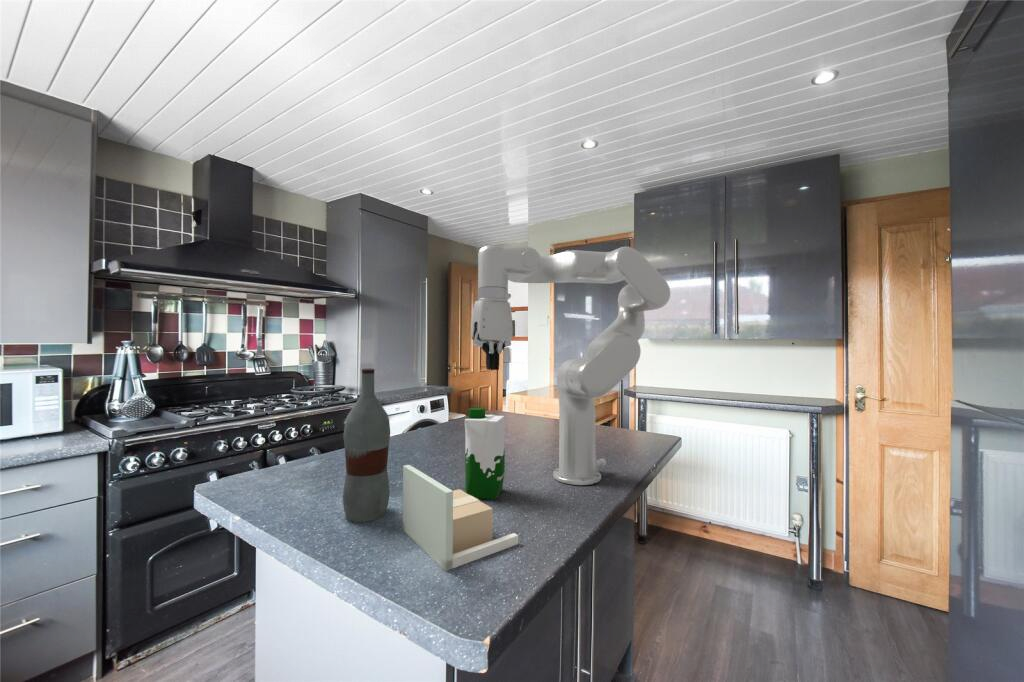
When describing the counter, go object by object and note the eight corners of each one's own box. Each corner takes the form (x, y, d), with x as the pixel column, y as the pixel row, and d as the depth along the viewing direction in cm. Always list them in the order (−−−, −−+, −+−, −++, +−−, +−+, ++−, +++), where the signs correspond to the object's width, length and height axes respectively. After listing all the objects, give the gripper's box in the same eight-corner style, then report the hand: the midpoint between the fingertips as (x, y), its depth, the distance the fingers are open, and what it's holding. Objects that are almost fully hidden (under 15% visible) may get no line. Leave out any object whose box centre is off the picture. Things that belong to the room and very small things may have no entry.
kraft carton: (459, 519, 80) (459, 488, 80) (492, 542, 70) (492, 508, 71) (412, 532, 74) (412, 499, 74) (441, 560, 64) (442, 522, 65)
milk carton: (472, 485, 98) (472, 405, 99) (507, 488, 97) (507, 406, 97) (460, 498, 90) (461, 410, 90) (499, 502, 88) (499, 412, 88)
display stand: (467, 511, 83) (467, 453, 83) (518, 544, 69) (518, 475, 69) (402, 529, 75) (403, 465, 75) (445, 571, 61) (446, 492, 61)
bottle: (337, 511, 82) (339, 368, 83) (380, 501, 88) (382, 367, 89) (349, 527, 75) (351, 370, 76) (396, 515, 81) (398, 369, 81)
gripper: (507, 300, 106) (507, 368, 106) (459, 295, 97) (458, 369, 97) (525, 297, 100) (525, 369, 100) (475, 292, 91) (475, 371, 91)
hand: (492, 369), depth 98 cm, fingers closed
